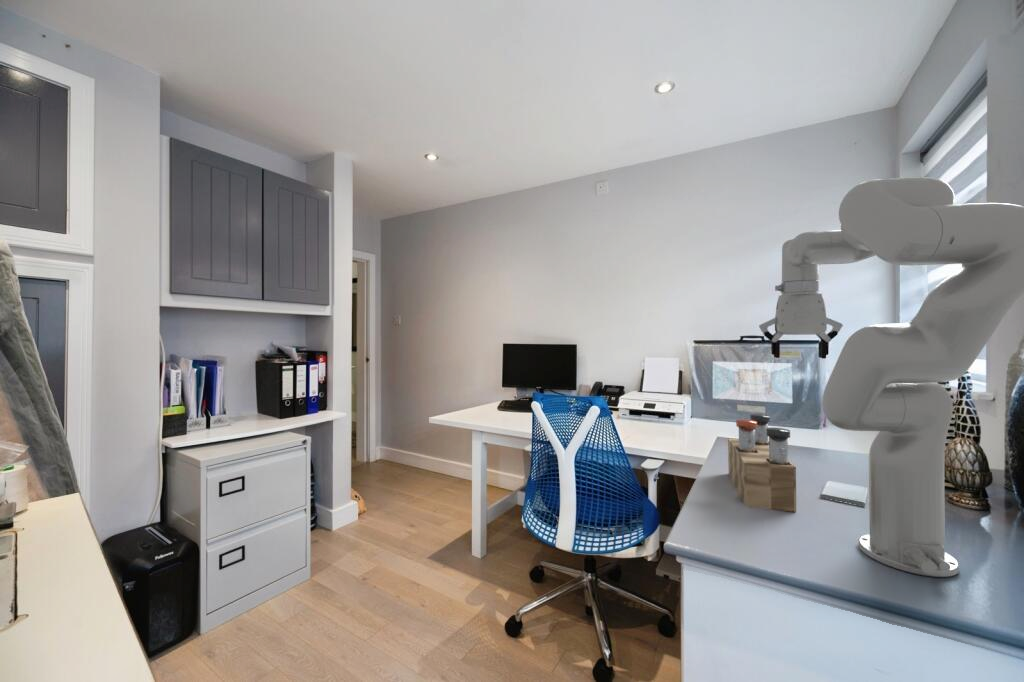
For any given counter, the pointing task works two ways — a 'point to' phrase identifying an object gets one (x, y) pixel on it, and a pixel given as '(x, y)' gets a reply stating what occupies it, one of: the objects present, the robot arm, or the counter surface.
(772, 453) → the plug near
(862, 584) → the counter surface
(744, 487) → the socket block
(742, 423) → the plug mid
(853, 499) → the hard drive
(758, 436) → the plug far
